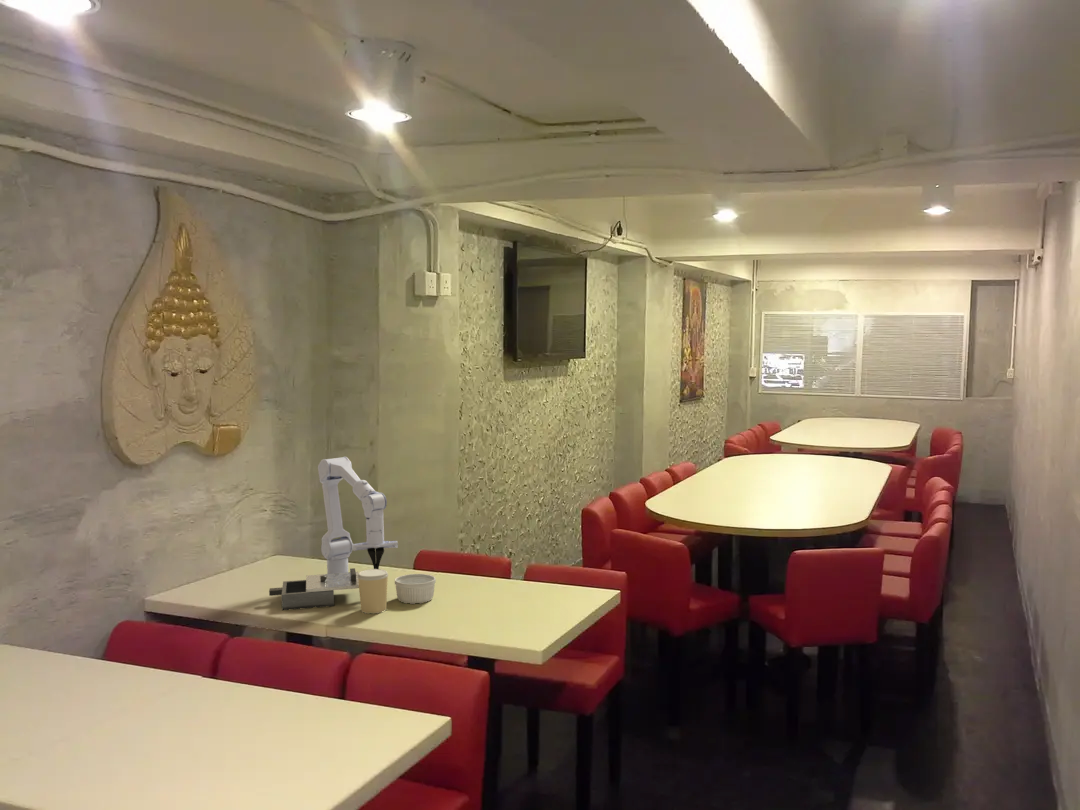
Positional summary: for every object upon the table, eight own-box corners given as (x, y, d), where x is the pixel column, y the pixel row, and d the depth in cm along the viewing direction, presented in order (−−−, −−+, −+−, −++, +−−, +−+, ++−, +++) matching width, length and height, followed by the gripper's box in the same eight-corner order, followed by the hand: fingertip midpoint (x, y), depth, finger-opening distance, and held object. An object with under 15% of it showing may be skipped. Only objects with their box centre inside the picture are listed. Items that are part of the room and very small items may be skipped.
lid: (306, 578, 292) (306, 568, 292) (358, 574, 296) (357, 564, 296) (306, 592, 276) (305, 581, 275) (360, 588, 280) (360, 577, 280)
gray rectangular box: (271, 597, 289) (270, 582, 289) (333, 592, 294) (332, 577, 294) (268, 611, 274) (268, 595, 273) (334, 606, 279) (333, 590, 278)
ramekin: (431, 592, 293) (431, 571, 293) (439, 603, 281) (439, 581, 281) (392, 596, 289) (391, 575, 289) (398, 607, 277) (398, 585, 276)
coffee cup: (392, 605, 278) (391, 568, 277) (384, 615, 269) (383, 576, 268) (363, 605, 279) (362, 568, 278) (354, 614, 270) (353, 576, 269)
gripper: (353, 533, 283) (354, 575, 284) (398, 530, 286) (399, 571, 287) (352, 529, 289) (353, 569, 290) (396, 526, 293) (397, 566, 294)
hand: (376, 570), depth 289 cm, fingers closed
